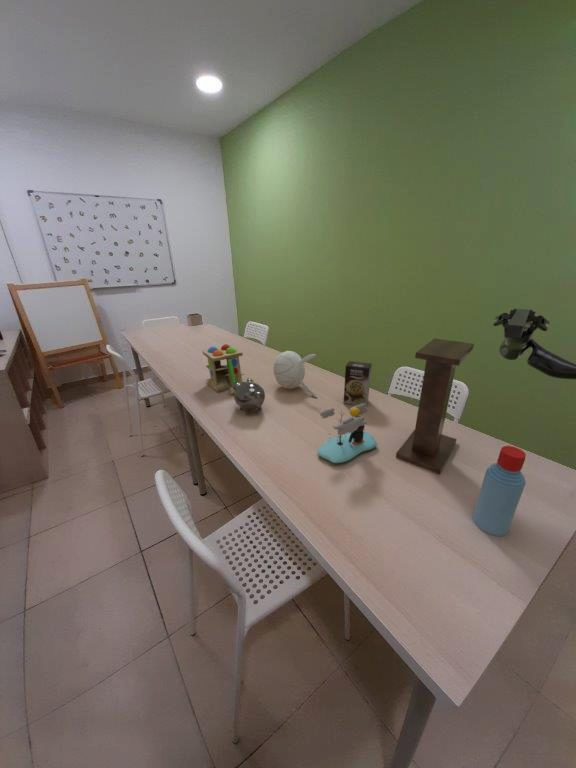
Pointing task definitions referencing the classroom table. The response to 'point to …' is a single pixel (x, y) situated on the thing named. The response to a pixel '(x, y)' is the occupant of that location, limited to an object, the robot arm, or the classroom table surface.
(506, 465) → the cap
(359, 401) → the coffee box
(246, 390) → the piggy bank
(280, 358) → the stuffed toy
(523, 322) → the dark grey bar
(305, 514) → the classroom table surface
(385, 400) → the classroom table surface
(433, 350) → the stand
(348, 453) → the penguin figurine
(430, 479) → the classroom table surface
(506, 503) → the bottle
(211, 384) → the pounding bench toy
